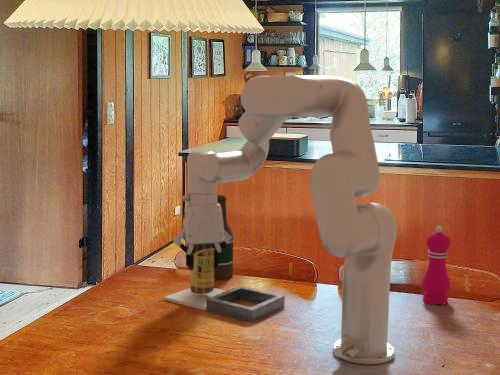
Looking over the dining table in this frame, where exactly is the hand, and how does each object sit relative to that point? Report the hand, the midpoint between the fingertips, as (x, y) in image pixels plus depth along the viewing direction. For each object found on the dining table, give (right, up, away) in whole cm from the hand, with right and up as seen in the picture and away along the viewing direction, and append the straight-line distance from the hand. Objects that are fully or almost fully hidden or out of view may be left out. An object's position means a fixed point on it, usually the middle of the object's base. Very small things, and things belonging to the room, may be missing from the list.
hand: (202, 266), depth 170 cm
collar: (+11, -10, -7) cm, 16 cm away
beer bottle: (+3, -6, +22) cm, 23 cm away
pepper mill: (+61, -9, +1) cm, 62 cm away
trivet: (0, -8, +1) cm, 9 cm away
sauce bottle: (0, -7, +1) cm, 7 cm away
